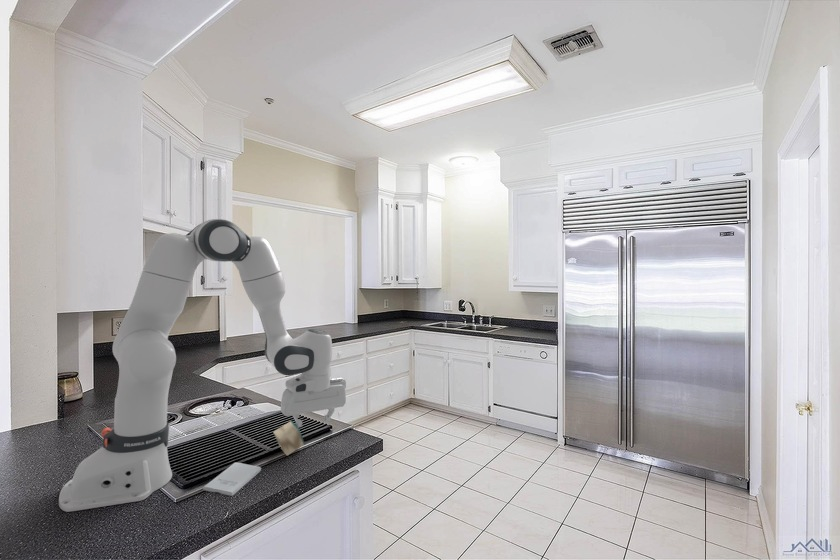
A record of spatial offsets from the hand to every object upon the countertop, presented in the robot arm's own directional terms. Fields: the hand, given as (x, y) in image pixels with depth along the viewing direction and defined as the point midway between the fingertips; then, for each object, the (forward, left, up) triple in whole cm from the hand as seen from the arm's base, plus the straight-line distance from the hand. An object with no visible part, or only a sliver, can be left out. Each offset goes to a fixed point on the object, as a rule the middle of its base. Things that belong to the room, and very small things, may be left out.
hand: (313, 424), depth 130 cm
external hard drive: (-25, -9, -8) cm, 28 cm away
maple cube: (-5, 0, -2) cm, 5 cm away
